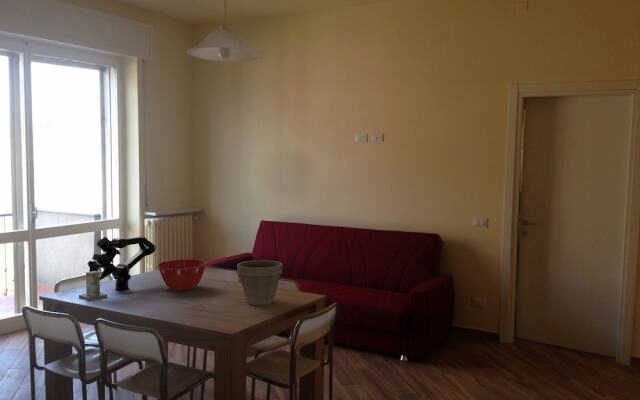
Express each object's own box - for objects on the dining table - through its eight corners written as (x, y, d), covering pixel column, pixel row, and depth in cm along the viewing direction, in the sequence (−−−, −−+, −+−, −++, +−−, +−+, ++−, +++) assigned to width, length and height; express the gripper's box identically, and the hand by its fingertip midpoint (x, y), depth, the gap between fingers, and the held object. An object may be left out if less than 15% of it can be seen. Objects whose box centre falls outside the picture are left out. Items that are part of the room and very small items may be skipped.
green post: (93, 293, 316) (93, 270, 315) (100, 294, 314) (99, 271, 313) (86, 295, 312) (86, 272, 311) (92, 296, 309) (92, 273, 308)
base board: (97, 294, 321) (96, 291, 320) (107, 297, 314) (107, 294, 314) (78, 297, 312) (78, 295, 312) (89, 301, 305) (89, 298, 305)
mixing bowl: (183, 296, 317) (183, 269, 316) (148, 290, 331) (147, 264, 330) (215, 286, 341) (215, 262, 340) (181, 281, 355) (181, 257, 354)
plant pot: (254, 294, 322) (254, 257, 320) (290, 299, 310) (290, 261, 309) (228, 304, 300) (228, 265, 298) (266, 310, 288) (266, 269, 287)
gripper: (89, 247, 321) (73, 269, 312) (112, 249, 312) (97, 272, 303) (100, 258, 328) (85, 280, 319) (123, 261, 320) (108, 283, 311)
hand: (94, 278), depth 313 cm, fingers open, 9 cm apart
